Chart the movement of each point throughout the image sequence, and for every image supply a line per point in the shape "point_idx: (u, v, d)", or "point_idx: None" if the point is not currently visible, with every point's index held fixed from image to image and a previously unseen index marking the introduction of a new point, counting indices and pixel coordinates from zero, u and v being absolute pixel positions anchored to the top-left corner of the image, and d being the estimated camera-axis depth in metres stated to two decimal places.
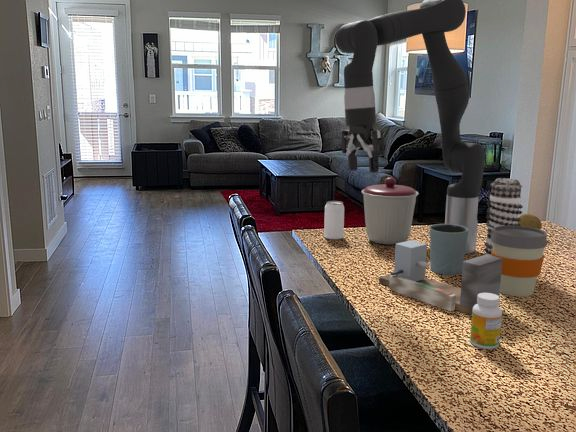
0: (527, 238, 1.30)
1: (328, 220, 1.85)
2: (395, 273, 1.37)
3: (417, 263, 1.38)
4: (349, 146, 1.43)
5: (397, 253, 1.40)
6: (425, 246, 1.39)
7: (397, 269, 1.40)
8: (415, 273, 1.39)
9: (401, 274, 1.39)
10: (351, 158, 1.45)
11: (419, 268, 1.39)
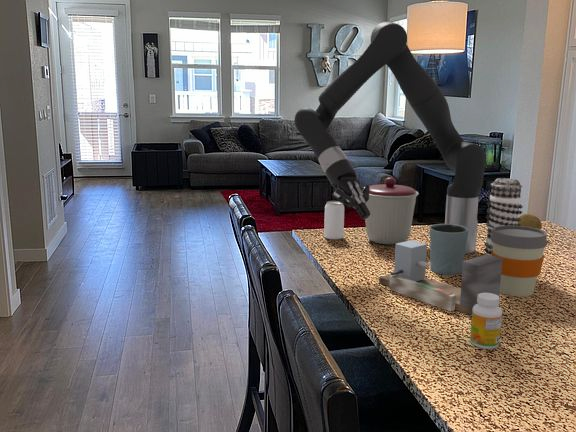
0: (527, 238, 1.30)
1: (328, 220, 1.85)
2: (395, 273, 1.37)
3: (417, 263, 1.38)
4: None
5: (397, 253, 1.40)
6: (425, 246, 1.39)
7: (397, 269, 1.40)
8: (415, 273, 1.39)
9: (401, 274, 1.39)
10: None
11: (419, 268, 1.39)
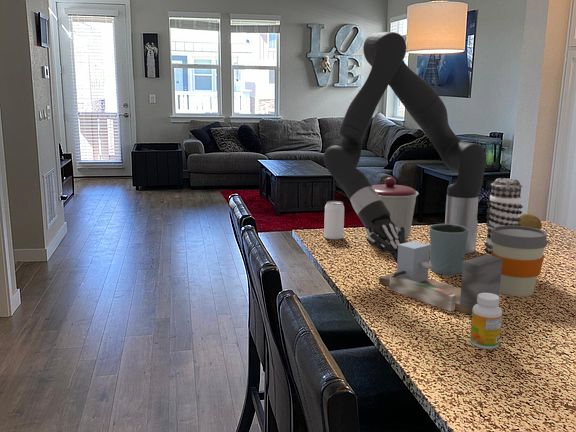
0: (527, 238, 1.30)
1: (328, 220, 1.85)
2: (398, 274, 1.37)
3: (420, 264, 1.37)
4: None
5: (400, 254, 1.39)
6: (428, 247, 1.39)
7: (400, 270, 1.40)
8: (418, 273, 1.38)
9: (404, 275, 1.39)
10: None
11: (422, 269, 1.39)
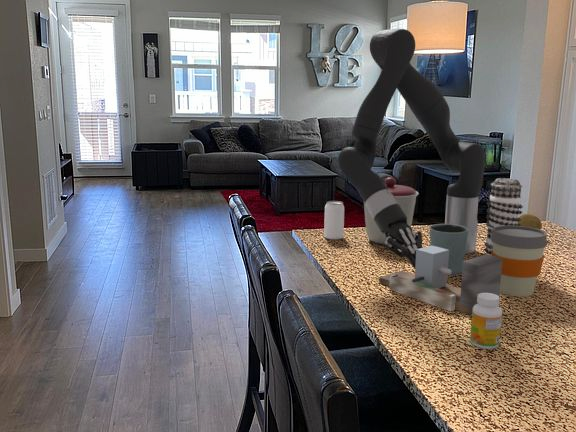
0: (527, 238, 1.30)
1: (328, 220, 1.85)
2: (416, 280, 1.32)
3: (439, 269, 1.33)
4: None
5: (418, 259, 1.35)
6: (447, 252, 1.34)
7: (418, 276, 1.35)
8: (437, 279, 1.34)
9: (422, 281, 1.34)
10: None
11: (441, 275, 1.34)
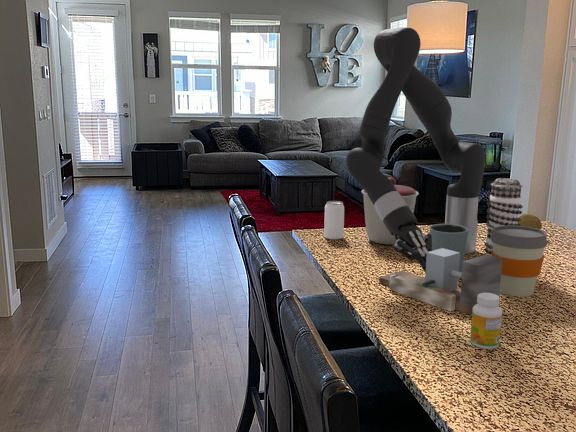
0: (527, 238, 1.30)
1: (328, 220, 1.85)
2: (427, 283, 1.30)
3: (450, 273, 1.31)
4: None
5: (428, 262, 1.32)
6: (458, 255, 1.32)
7: (428, 279, 1.33)
8: (448, 283, 1.31)
9: (433, 284, 1.32)
10: None
11: (452, 278, 1.32)
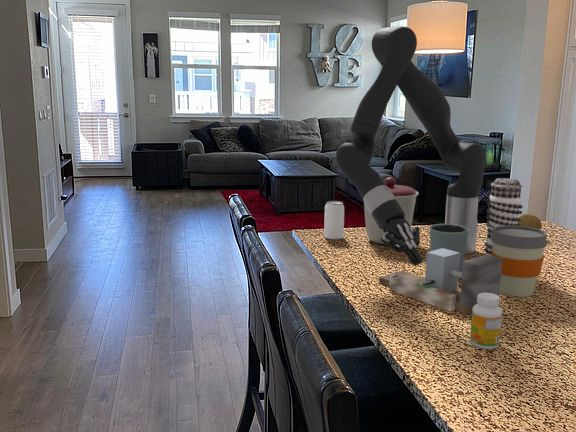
0: (527, 238, 1.30)
1: (328, 220, 1.85)
2: (427, 283, 1.30)
3: (450, 273, 1.31)
4: None
5: (428, 262, 1.32)
6: (458, 255, 1.32)
7: (428, 279, 1.33)
8: (448, 283, 1.31)
9: (433, 284, 1.32)
10: None
11: (452, 278, 1.32)
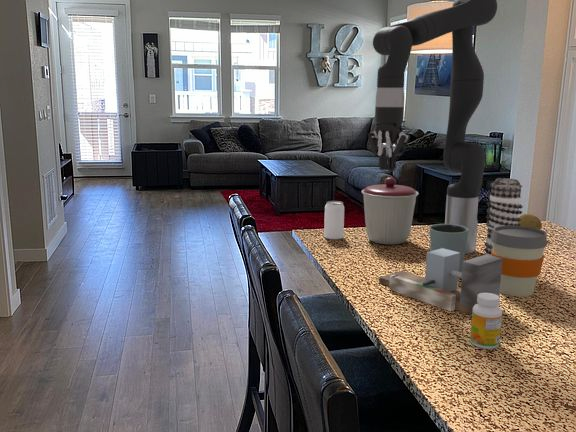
0: (527, 238, 1.30)
1: (328, 220, 1.85)
2: (427, 283, 1.30)
3: (450, 273, 1.31)
4: (379, 144, 1.52)
5: (428, 262, 1.32)
6: (458, 255, 1.32)
7: (428, 279, 1.33)
8: (448, 283, 1.31)
9: (433, 284, 1.32)
10: (383, 158, 1.53)
11: (452, 278, 1.32)
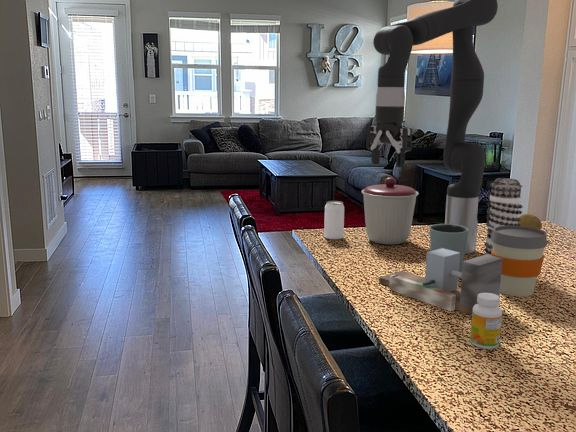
0: (527, 238, 1.30)
1: (328, 220, 1.85)
2: (427, 283, 1.30)
3: (450, 273, 1.31)
4: (375, 141, 1.53)
5: (428, 262, 1.32)
6: (458, 255, 1.32)
7: (428, 279, 1.33)
8: (448, 283, 1.31)
9: (433, 284, 1.32)
10: (375, 152, 1.55)
11: (452, 278, 1.32)
